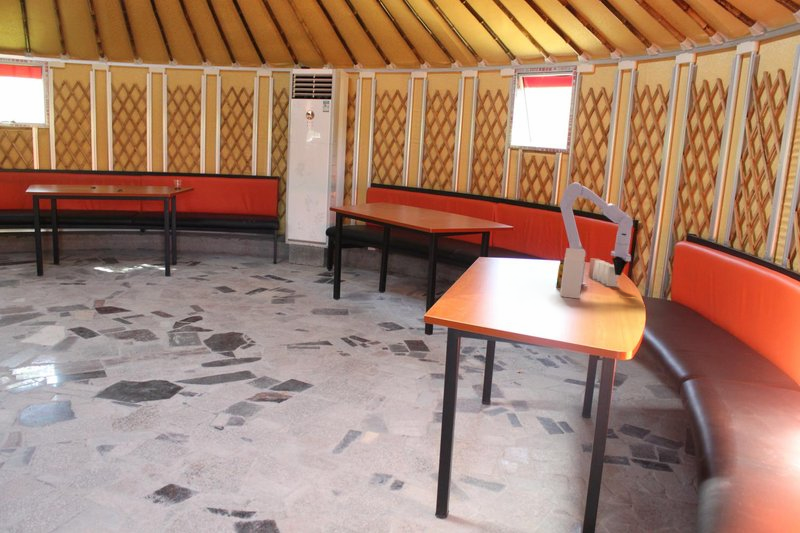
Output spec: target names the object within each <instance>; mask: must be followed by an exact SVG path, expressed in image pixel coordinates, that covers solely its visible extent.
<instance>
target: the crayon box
mask: <svg viewBox="0 0 800 533" xmlns="http://www.w3.org/2000/svg"><path fill="white" fill-rule="evenodd" d="M559 260H560V262H559V265H558V269H557V271H558V272H557V278H556V284H555V287H556V288H557V289H561V282H562V274H563V266H564V259H559Z"/></svg>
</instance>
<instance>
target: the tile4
mask: <svg viewBox="0 0 800 533" xmlns="http://www.w3.org/2000/svg"><path fill="white" fill-rule="evenodd" d="M599 262H603V263H606V261H605V260H600V261H598V260H595V263H594V271H593V279H597V276H598V269H599Z"/></svg>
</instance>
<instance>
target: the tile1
mask: <svg viewBox="0 0 800 533" xmlns="http://www.w3.org/2000/svg"><path fill="white" fill-rule="evenodd" d="M618 280H619V275H615V269H614V267H611V266H609V269H608V276H607V283H606V286H618ZM606 286H605V287H606Z"/></svg>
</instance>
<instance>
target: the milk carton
mask: <svg viewBox="0 0 800 533" xmlns="http://www.w3.org/2000/svg"><path fill="white" fill-rule="evenodd" d="M585 252H586V250H585V249H584V250H581V249H571V248H570V247H566V248H565V253H564V259H563V260H564V266H563V274H562V282H561V288H559V289H560V291H559V294H560V297H565V298H573V299H580V297H581V296H580V295H581V290H582V288H581V287H582V285H581V282H582V275H583V268H584V263H585V259H586V257H585ZM584 258H585V259H584Z"/></svg>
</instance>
